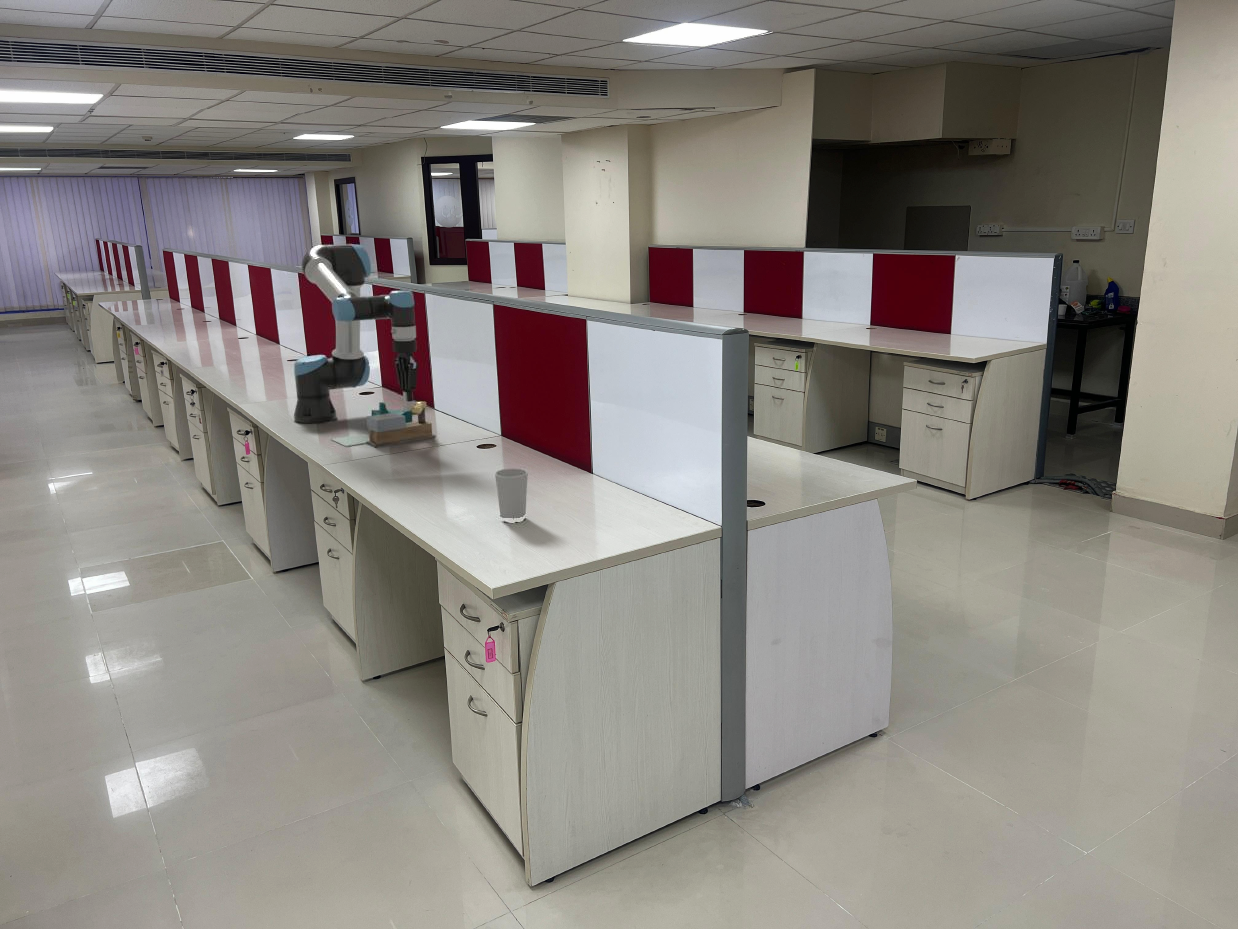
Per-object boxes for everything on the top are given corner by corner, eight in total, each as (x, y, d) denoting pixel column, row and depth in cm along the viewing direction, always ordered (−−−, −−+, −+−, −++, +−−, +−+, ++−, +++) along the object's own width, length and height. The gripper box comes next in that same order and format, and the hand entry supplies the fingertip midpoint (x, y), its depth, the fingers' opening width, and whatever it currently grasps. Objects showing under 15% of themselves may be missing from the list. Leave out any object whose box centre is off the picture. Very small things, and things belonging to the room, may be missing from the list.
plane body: (366, 443, 295) (364, 414, 292) (425, 433, 308) (424, 406, 306) (375, 447, 290) (373, 418, 287) (435, 437, 303) (434, 409, 301)
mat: (331, 440, 299) (331, 439, 299) (365, 435, 307) (364, 433, 307) (346, 446, 290) (346, 445, 290) (380, 441, 298) (380, 440, 298)
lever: (410, 415, 290) (409, 409, 290) (416, 407, 303) (416, 401, 302) (421, 415, 290) (420, 409, 290) (427, 407, 303) (426, 401, 303)
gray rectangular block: (367, 428, 294) (366, 416, 293) (395, 424, 301) (394, 412, 300) (377, 432, 289) (377, 420, 287) (406, 428, 295) (405, 416, 294)
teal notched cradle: (411, 433, 312) (412, 404, 310) (380, 433, 307) (381, 404, 305) (401, 423, 328) (401, 395, 325) (371, 423, 323) (371, 395, 321)
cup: (497, 514, 222) (495, 468, 219) (529, 513, 223) (528, 467, 220) (496, 525, 215) (494, 477, 212) (529, 524, 215) (527, 476, 212)
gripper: (384, 338, 289) (389, 409, 295) (402, 342, 280) (407, 415, 286) (405, 336, 294) (410, 406, 300) (424, 340, 284) (428, 412, 291)
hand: (408, 410), depth 293 cm, fingers closed
